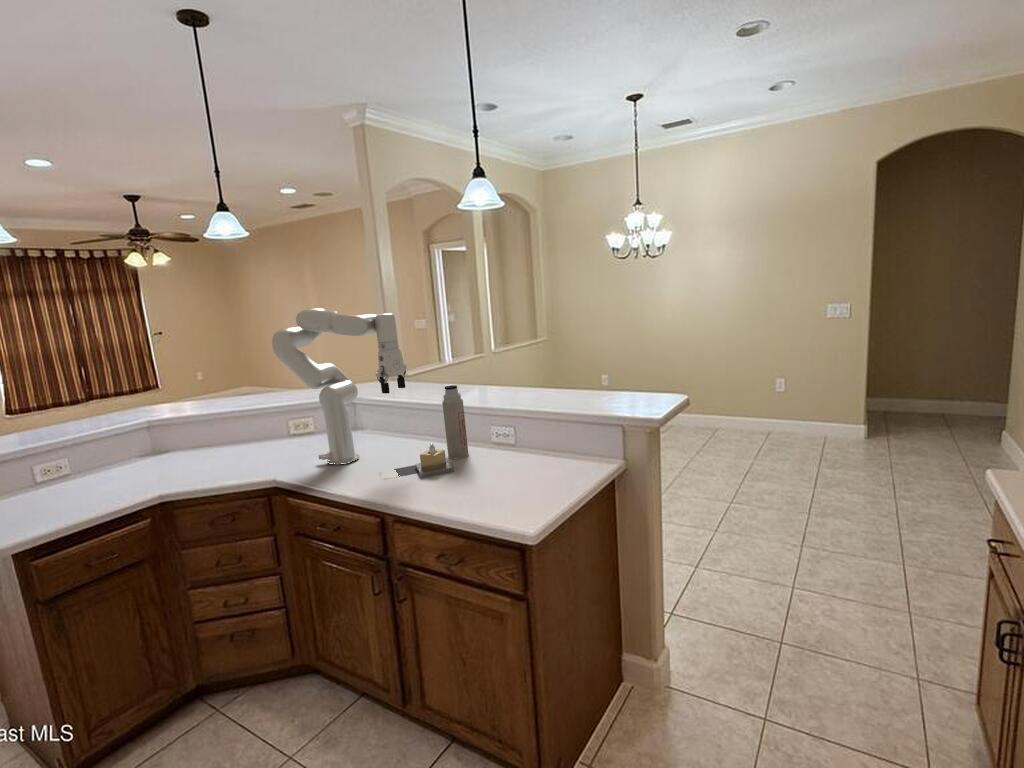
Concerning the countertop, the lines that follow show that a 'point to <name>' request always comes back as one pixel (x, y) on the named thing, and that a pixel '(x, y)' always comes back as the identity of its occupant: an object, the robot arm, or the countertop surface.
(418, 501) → the countertop surface
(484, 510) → the countertop surface
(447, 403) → the thermos bottle
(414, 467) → the mat
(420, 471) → the grey peg stand
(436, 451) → the collar
